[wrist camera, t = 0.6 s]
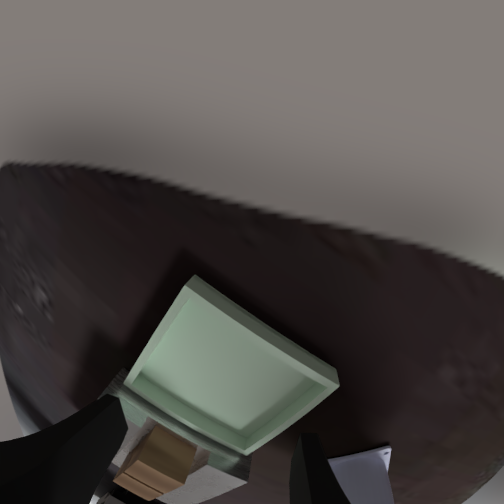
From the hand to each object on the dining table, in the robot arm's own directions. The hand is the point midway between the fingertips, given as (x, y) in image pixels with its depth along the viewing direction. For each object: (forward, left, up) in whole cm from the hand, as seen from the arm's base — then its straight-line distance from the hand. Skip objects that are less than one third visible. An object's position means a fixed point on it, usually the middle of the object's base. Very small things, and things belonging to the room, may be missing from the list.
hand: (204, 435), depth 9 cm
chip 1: (-10, +9, -7) cm, 15 cm away
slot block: (-13, +13, -10) cm, 21 cm away
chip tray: (-4, +3, -10) cm, 11 cm away
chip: (-13, +13, -7) cm, 19 cm away
